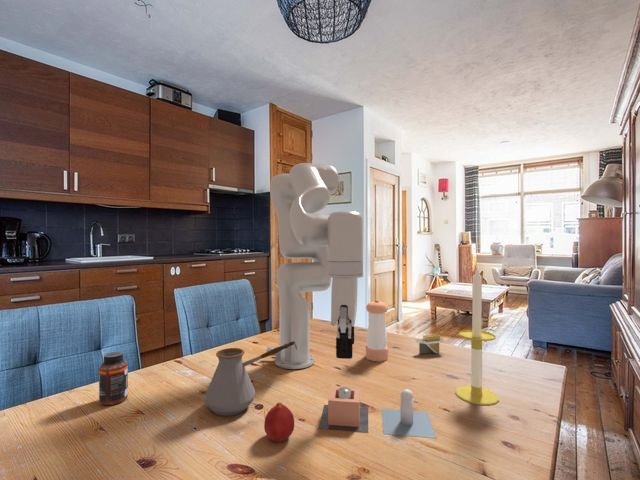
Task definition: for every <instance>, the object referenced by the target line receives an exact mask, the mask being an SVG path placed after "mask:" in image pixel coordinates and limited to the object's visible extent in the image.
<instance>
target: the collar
mask: <svg viewBox="0 0 640 480" xmlns="http://www.w3.org/2000/svg"><path fill="white" fill-rule="evenodd" d="M339 388H341V387H339V386H338V387H337V386H331V387H330V390H329V396H328V400H327V405H328V425H340V426H353V427H359V424H360V407H361V388H356V387H355V388H354V387H352V388H351V387H349V388H350V389H351V399H341V398H339Z"/></svg>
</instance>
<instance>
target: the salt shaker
mask: <svg viewBox="0 0 640 480" xmlns="http://www.w3.org/2000/svg"><path fill="white" fill-rule="evenodd" d="M365 308H366V311H367V312H368V325H367V332H366V345H365V358H366V359H367V360H369V361H371V362H386V361H387V360H388V359H389V347H388V346H387V345H388V334H387V328H386V327H387V326H386V313H387V312H388V310H389V309H388V305H387V304H386V303H385V302H384V301H380V300H379V299H374V301H370V302H368V303H367V304H366V307H365Z"/></svg>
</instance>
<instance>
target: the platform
mask: <svg viewBox="0 0 640 480" xmlns="http://www.w3.org/2000/svg"><path fill="white" fill-rule="evenodd" d="M415 343H418V346H419V347H418V349H419V350H418V351H419V353H418V354H419V355H421V354H422V353H424V354H431V353H436V354H437V355H438V354H439V352H440V343H444V339H443V338H442V337H441V335H440V334H437V333H436V334H430V335H429V336H428V334H426V335H425V334H424V335H422V338H419V339H418V338H417V339H415ZM422 355H423V354H422Z"/></svg>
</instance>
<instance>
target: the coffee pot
mask: <svg viewBox="0 0 640 480" xmlns="http://www.w3.org/2000/svg"><path fill="white" fill-rule="evenodd" d="M292 345H296V343H295V341H293V342H290V343H288V344H284V345H283V346H280V347H279V346H276V347H273V348H274V349H272V350H270V351H268V352H267V351H266V352H264V353H262V354H260V355H258V356H256V357H253V358H251V359H249V360H245V361H244V362H243V360H242V359H243V357H244V354H245V350H244V349H242V348H239V347H229V348H228V347H227V348H224V349H220V350H218V351H217V352H216V353H215V356H216V357H217V359H218V364H217V367H216V368H215V370H214V373H213V376H212V379H211V380H210V383H209V385H208V387H207V390H206V392H205V394H204V402H205V405H206V406H207V407H208V408H209V409H210V410H211V411H213V413H214V414H216V415H219V416H225V417H226V416H227V417H228V416H233V415H237V414H241V413H242V412H243V411H245V410H246V409H247V408H248V407H249V406H250V405H251V404H252V402H253V401H254V399H255V396H256V389H255V387H254V385H253V382H252V380H251V378H250V376H249V373H248V371H247V369H246V367H247V366H249V365H251V364H254V363H256V362H258V361H259V360H261V359H265V358H268V357H271V355H273V354H276V353H278V352H280V351H281V350H283V349H285V348H286V349H287V348H288V347H289V346H292ZM295 348H296V349H297V346H295Z"/></svg>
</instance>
